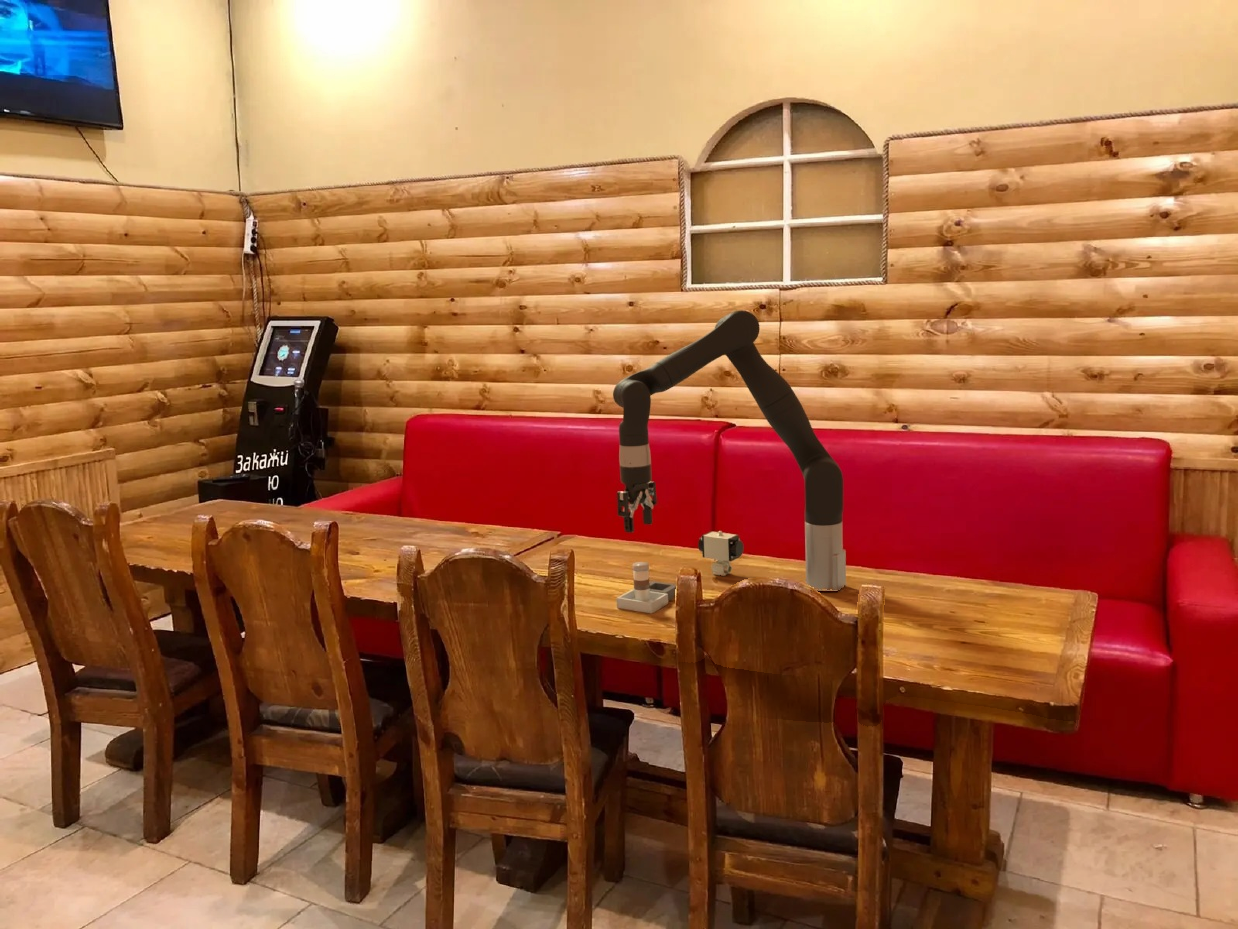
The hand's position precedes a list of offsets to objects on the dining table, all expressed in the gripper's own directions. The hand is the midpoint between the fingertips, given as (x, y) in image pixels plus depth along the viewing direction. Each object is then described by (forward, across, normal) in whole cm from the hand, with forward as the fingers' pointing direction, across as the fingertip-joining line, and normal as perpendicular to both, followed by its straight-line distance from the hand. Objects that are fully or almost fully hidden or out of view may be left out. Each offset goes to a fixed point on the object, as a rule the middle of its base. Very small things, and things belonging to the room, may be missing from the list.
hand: (638, 528), depth 230 cm
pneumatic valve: (+20, +32, -6) cm, 38 cm away
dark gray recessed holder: (+20, +8, 0) cm, 21 cm away
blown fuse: (+19, 0, 0) cm, 19 cm away
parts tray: (+20, 0, 0) cm, 20 cm away
